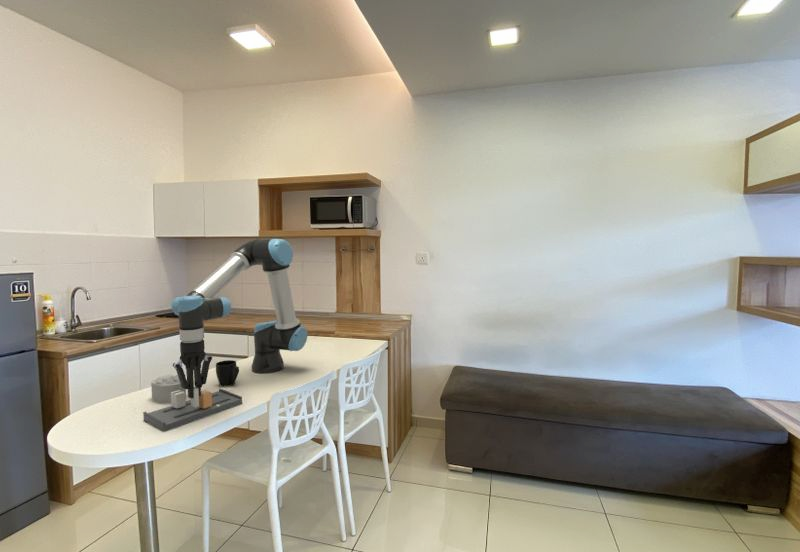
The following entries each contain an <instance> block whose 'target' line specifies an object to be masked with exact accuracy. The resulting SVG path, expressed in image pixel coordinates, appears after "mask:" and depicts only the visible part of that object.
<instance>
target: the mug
mask: <svg viewBox="0 0 800 552" xmlns="http://www.w3.org/2000/svg"><path fill="white" fill-rule="evenodd" d="M239 372H240V367H239V366H237V360H233V359H231V360H229V359H228V360H227V359H226V360H221V361H218V362H216V363H215V373H216V374H215V375H216V377H217V381H218V384H219V385H220V387H228V386H232V385H234V384H235V382H236V380H237V378H238V376H239Z"/></svg>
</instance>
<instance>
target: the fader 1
mask: <svg viewBox="0 0 800 552" xmlns="http://www.w3.org/2000/svg"><path fill="white" fill-rule="evenodd" d="M185 401H186V398H185V392H183V391H182V390H181V391H180V390H178V391H174V392H171V403H170V404H171V405H170V406H172V407H174V408H180V407H183V406H185Z"/></svg>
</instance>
